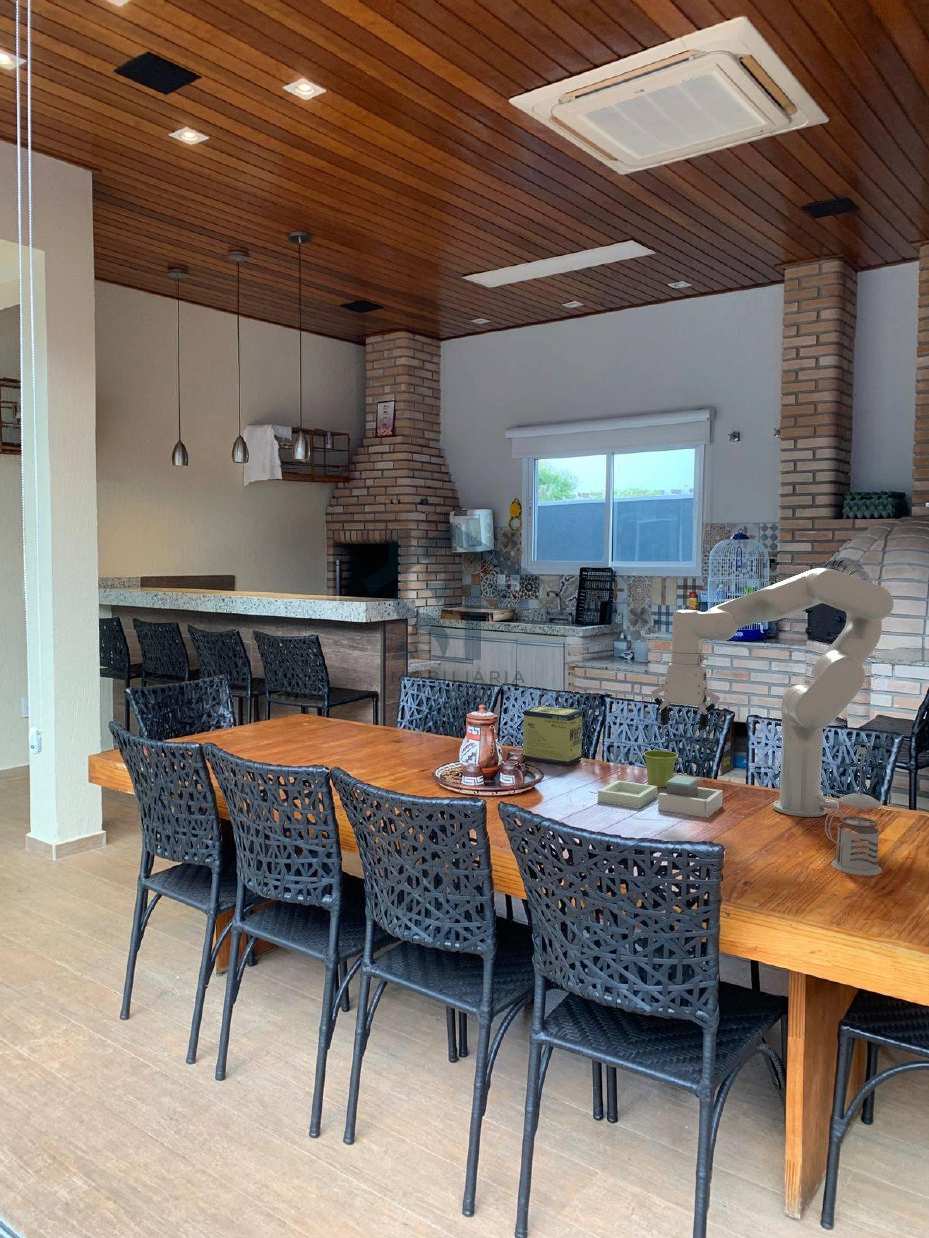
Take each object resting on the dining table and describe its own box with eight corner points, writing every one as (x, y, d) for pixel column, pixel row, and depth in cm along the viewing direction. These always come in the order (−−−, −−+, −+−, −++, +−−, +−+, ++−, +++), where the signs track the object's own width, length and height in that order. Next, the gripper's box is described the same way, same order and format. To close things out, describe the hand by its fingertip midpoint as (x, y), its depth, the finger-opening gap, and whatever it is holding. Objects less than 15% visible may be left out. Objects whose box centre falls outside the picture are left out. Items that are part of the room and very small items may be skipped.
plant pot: (677, 790, 252) (678, 758, 251) (642, 788, 254) (642, 756, 253) (676, 781, 261) (677, 751, 261) (642, 779, 263) (643, 749, 262)
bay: (722, 805, 237) (722, 790, 237) (707, 817, 226) (708, 801, 226) (674, 798, 243) (674, 783, 243) (658, 809, 233) (658, 793, 232)
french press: (892, 875, 188) (898, 752, 186) (836, 875, 187) (842, 752, 185) (867, 858, 197) (872, 742, 196) (814, 859, 197) (819, 742, 195)
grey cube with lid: (697, 804, 238) (698, 777, 238) (687, 812, 231) (688, 784, 231) (676, 801, 241) (676, 774, 240) (665, 808, 234) (666, 781, 233)
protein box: (568, 766, 278) (569, 715, 277) (521, 760, 286) (522, 709, 284) (582, 760, 287) (583, 710, 286) (536, 753, 295) (537, 705, 293)
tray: (657, 796, 245) (657, 786, 245) (639, 808, 234) (639, 797, 234) (616, 790, 251) (617, 780, 251) (597, 801, 240) (598, 790, 239)
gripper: (725, 660, 232) (722, 728, 233) (658, 655, 241) (655, 720, 242) (716, 663, 226) (713, 733, 227) (648, 657, 235) (645, 725, 236)
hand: (683, 726), depth 235 cm, fingers open, 9 cm apart
